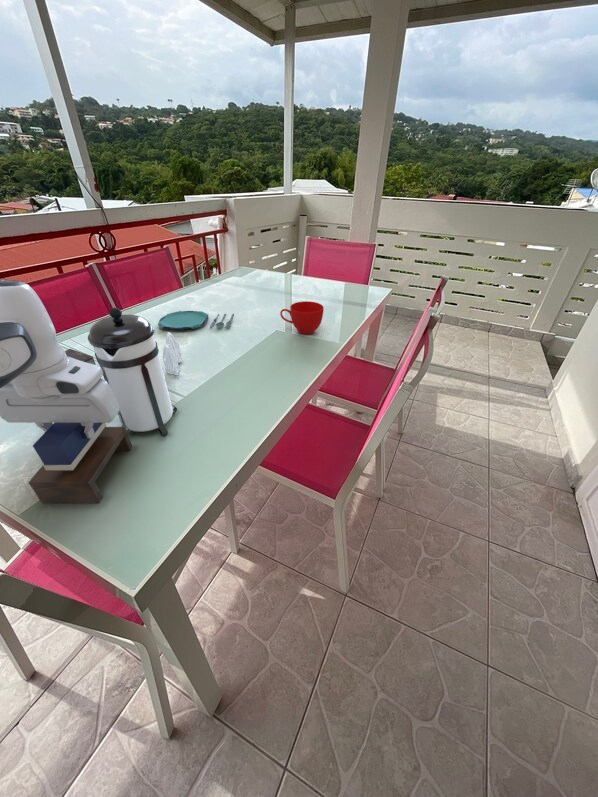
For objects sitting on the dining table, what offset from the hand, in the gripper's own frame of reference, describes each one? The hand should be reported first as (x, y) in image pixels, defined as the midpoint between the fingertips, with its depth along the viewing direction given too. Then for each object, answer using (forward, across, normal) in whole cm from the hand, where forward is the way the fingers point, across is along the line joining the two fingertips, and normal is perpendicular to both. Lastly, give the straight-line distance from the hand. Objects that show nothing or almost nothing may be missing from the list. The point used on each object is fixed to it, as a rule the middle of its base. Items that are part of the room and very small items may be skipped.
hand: (73, 436), depth 64 cm
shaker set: (+10, +4, +46) cm, 47 cm away
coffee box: (+10, -11, +22) cm, 27 cm away
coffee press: (+10, +6, +18) cm, 22 cm away
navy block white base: (+3, 0, 0) cm, 3 cm away
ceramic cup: (+10, +46, +76) cm, 89 cm away
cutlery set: (+10, +2, +83) cm, 84 cm away
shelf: (+10, 0, 0) cm, 10 cm away
